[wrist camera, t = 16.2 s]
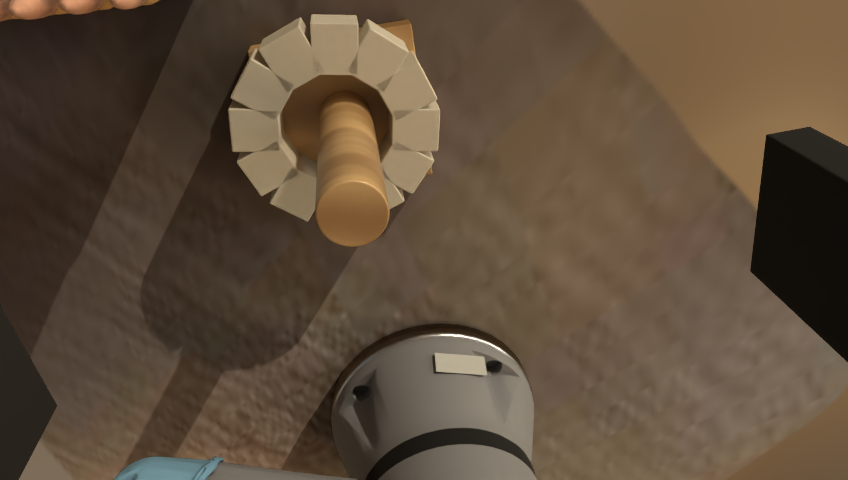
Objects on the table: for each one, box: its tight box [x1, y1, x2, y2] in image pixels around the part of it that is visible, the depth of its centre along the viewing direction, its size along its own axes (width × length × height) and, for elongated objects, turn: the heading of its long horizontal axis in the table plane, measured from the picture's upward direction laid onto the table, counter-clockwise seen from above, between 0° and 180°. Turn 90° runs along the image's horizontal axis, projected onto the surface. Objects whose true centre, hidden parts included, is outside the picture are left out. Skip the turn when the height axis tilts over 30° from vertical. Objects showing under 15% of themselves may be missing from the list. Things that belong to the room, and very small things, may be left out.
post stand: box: [248, 20, 432, 247], centre depth 33 cm, size 9×9×14 cm
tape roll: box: [228, 14, 440, 221], centre depth 37 cm, size 11×11×3 cm
